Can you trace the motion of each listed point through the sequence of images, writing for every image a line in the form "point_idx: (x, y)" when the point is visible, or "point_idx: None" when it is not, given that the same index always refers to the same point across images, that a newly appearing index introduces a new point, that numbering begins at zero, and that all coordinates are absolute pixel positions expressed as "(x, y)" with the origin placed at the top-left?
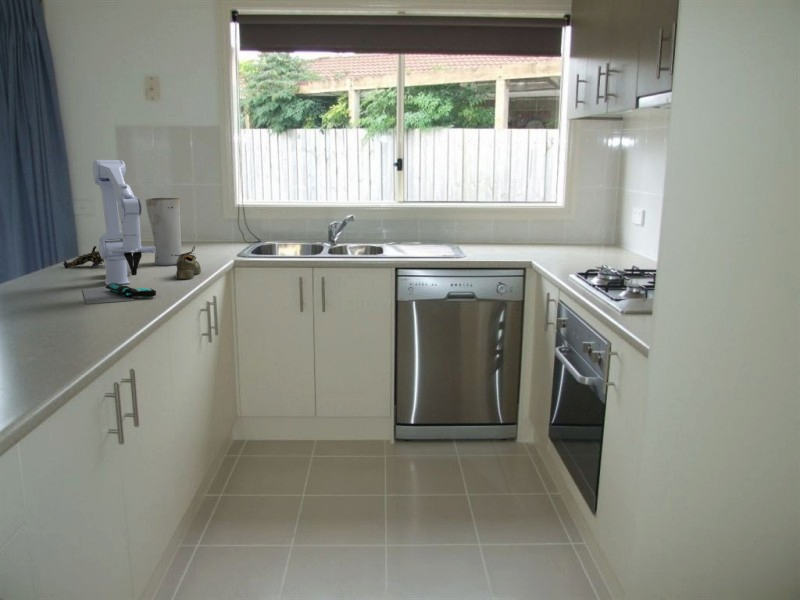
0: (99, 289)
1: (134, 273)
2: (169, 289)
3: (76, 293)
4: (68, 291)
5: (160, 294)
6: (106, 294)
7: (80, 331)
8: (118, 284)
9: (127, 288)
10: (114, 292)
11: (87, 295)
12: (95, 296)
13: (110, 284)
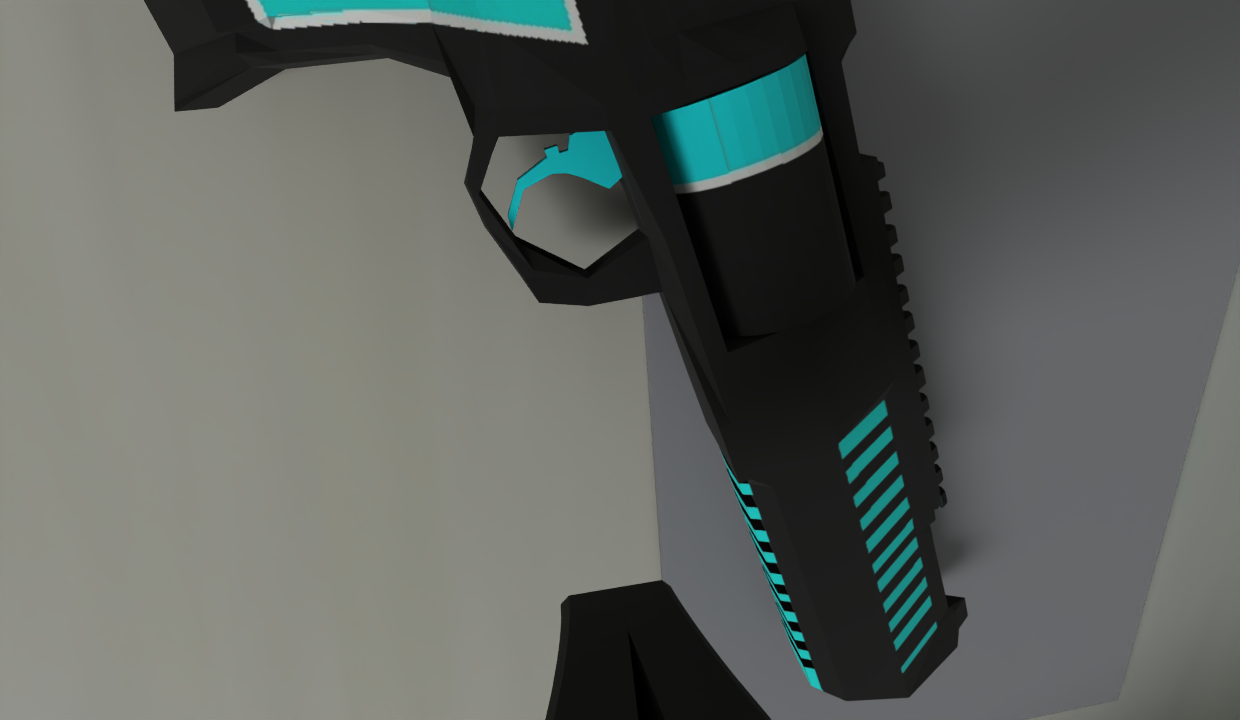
0: (970, 679)
1: (617, 611)
2: (52, 623)
3: (1204, 557)
4: (1231, 659)
5: (132, 255)
6: (960, 380)
7: None
8: (833, 595)
9: (749, 95)
10: None
11: (1175, 370)
12: (1113, 279)
13: (918, 659)
